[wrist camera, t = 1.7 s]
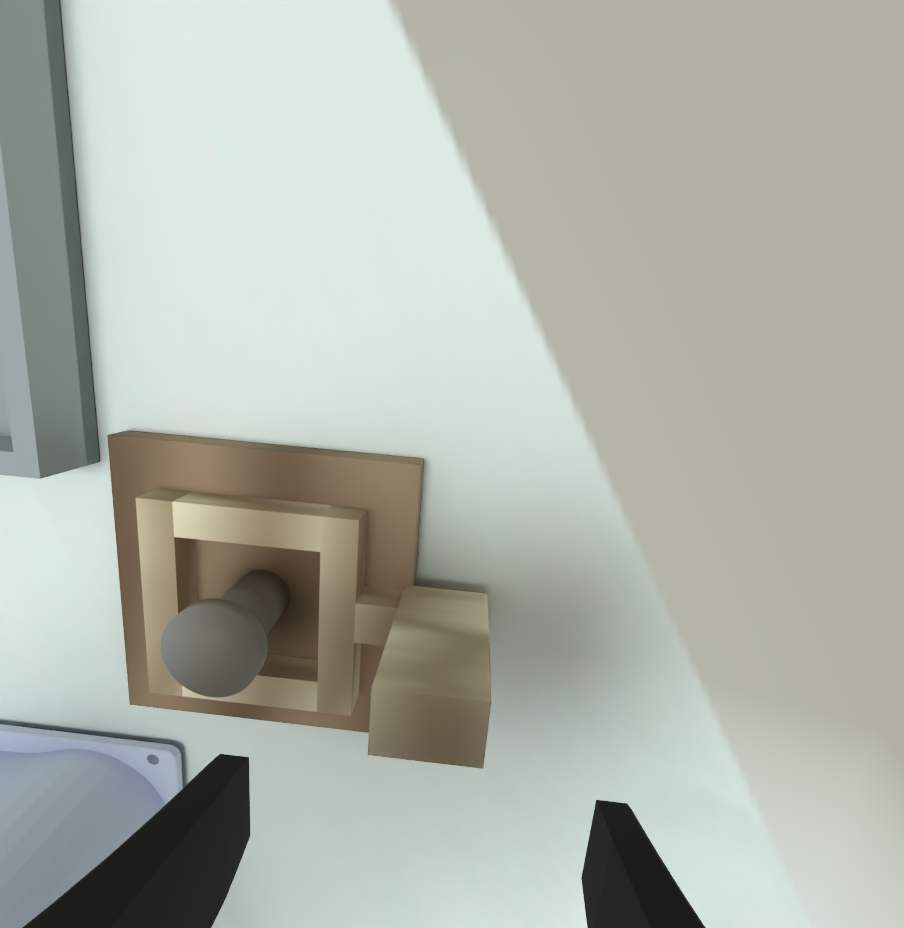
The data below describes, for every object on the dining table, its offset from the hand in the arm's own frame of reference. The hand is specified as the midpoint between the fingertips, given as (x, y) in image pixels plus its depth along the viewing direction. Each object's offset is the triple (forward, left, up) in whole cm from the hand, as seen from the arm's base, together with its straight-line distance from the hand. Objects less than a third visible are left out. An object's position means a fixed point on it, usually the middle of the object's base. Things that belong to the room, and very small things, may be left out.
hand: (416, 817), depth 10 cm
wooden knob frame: (-5, 0, -8) cm, 9 cm away
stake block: (-7, 0, -9) cm, 11 cm away
